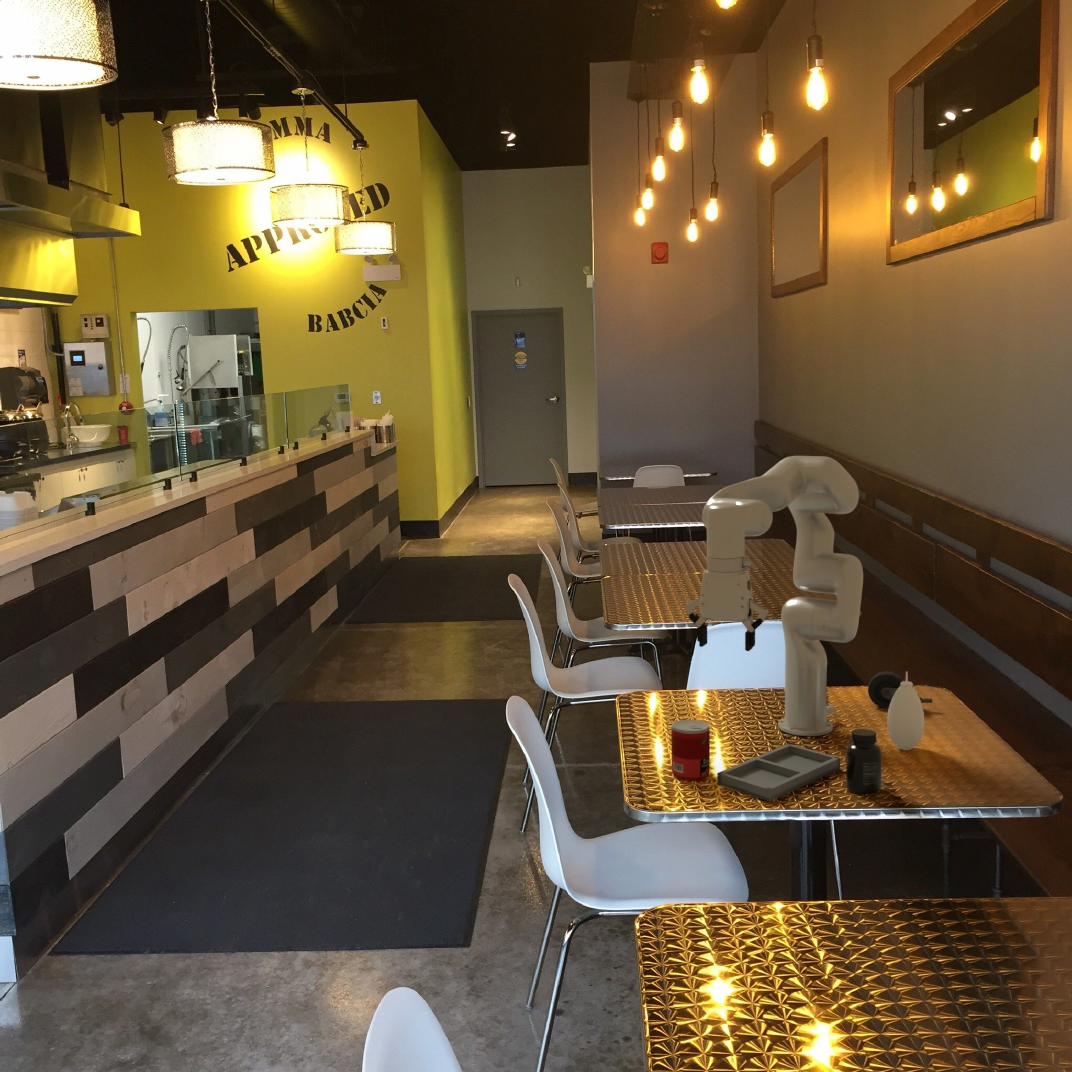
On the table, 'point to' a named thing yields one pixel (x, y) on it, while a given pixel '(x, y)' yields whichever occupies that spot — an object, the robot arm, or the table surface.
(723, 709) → the table surface
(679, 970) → the table surface
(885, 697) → the caster wheel
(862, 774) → the supplement bottle
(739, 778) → the caddy
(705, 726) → the canned food
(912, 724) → the white air blower bulb
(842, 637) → the robot arm
